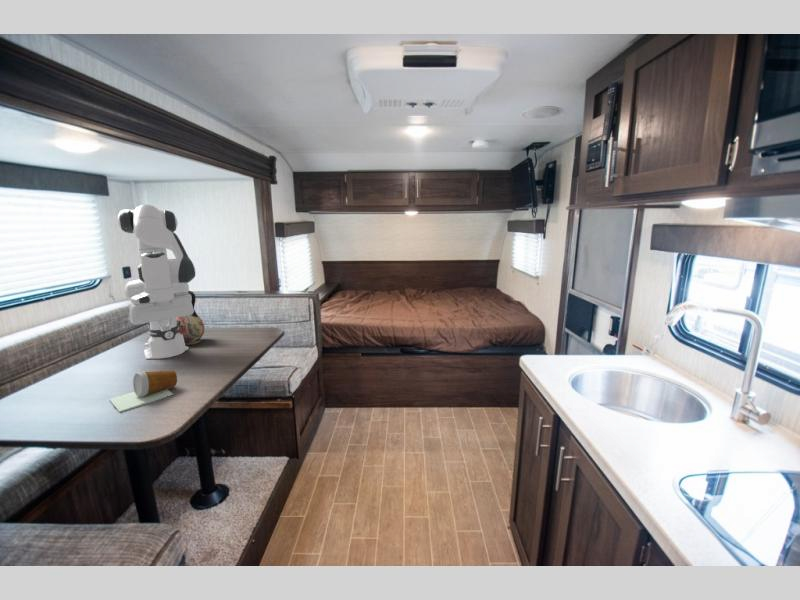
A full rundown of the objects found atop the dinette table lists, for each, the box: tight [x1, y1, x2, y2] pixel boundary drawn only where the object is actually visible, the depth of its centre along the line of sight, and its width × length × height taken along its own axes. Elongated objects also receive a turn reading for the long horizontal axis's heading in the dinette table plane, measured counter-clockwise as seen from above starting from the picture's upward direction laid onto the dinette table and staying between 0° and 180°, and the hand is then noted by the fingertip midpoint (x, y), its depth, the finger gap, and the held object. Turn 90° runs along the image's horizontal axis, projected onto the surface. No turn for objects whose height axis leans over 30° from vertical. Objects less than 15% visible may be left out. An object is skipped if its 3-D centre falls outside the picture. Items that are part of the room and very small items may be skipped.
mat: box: [108, 388, 174, 414], centre depth 125 cm, size 14×16×1 cm
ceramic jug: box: [176, 290, 205, 346], centre depth 184 cm, size 17×15×30 cm
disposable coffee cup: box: [132, 370, 178, 397], centre depth 129 cm, size 10×10×12 cm
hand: (166, 330), depth 129 cm, fingers closed
